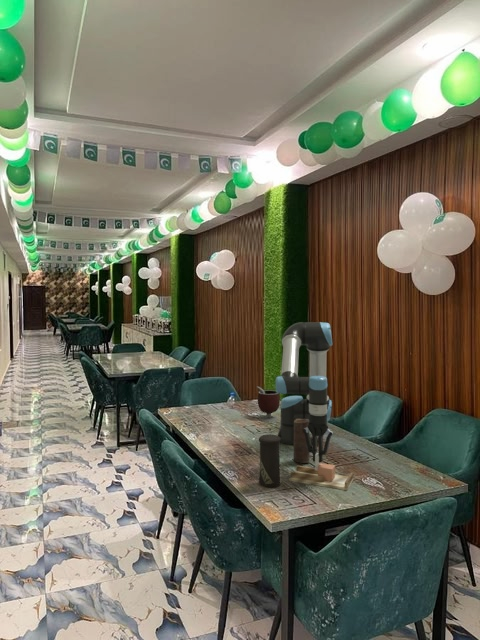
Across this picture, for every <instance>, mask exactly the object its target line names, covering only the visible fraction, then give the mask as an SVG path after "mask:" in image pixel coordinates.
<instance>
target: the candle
mask: <svg viewBox="0 0 480 640" xmlns="http://www.w3.org/2000/svg"><path fill="white" fill-rule="evenodd" d="M308 424H309V419H296V420H295V421H294V444H293V461H294V462H297V463H301V464H303V463H307V464H308V463H310V458H311V457H310V454H311V452H309V451H308V447H307V443H306V438H305V434H304V433H303V431H302V430H303V429H304V428H307V427H308Z"/></svg>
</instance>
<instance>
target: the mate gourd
mask: <svg viewBox="0 0 480 640" xmlns="http://www.w3.org/2000/svg"><path fill="white" fill-rule="evenodd" d="M256 388H257V389H259V391H258V395H257V406H258V408H259V410H260V412H262V413H264V414H266V415H263V416H259V418H258V420H259V421H260V422H261V421H262V422H277V421H279V417H278V416H276V415H272V413H275V412H277V411H278V409H279V408H280V405H281V400H280V399H281V398H280V393H277V392H276V390H273V389H272V390H271V389H267V390H264V389H263V388H262V387H260V386H256Z"/></svg>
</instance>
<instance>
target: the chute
mask: <svg viewBox="0 0 480 640" xmlns="http://www.w3.org/2000/svg"><path fill="white" fill-rule="evenodd" d="M295 467H296V468H295V470H296V471H293V470H291V472H290V477H289V479H288V481H290V482H296V483H301V484H307V485H314V486H320V487H325V488H331V489H335V490H343V491H348V490H349V488H350V486H351V485H352V483H353V481H354V472H352V471H351V472H350V473H349V475H340V474H336V473H335V478H334V479H333V481H327V480H324V476H318V471H316V470H315V467H310V466H303V465H298V464H297V465H296V466H295Z"/></svg>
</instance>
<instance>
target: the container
mask: <svg viewBox="0 0 480 640" xmlns="http://www.w3.org/2000/svg"><path fill="white" fill-rule="evenodd" d="M277 435H278V434H263V435H261V436H259V437H258V442H259V466H258V467H259V468H258V469H259V472H258V474H259V475H258V478H259V479H258V484H259V486H261V487H263V488H267V489H274V488H275V489H276V488H278V487H280V486H281V473H280V472H281V469H280V467H281V465H280V463H281V461H280V459H281V458H280V443H281V442H280V441H281V438H280V437H279V436H277Z"/></svg>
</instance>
